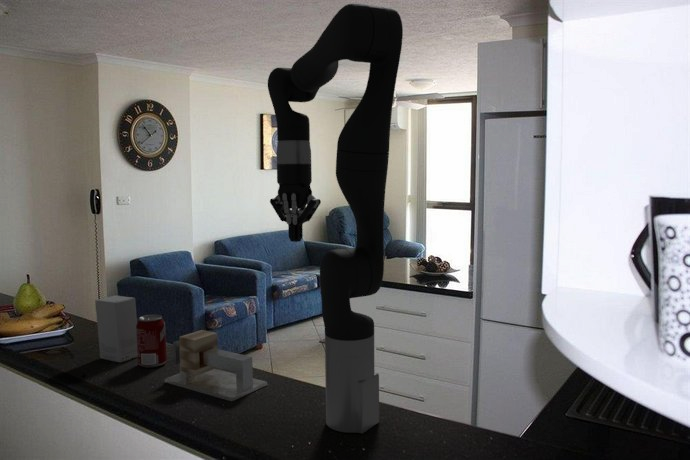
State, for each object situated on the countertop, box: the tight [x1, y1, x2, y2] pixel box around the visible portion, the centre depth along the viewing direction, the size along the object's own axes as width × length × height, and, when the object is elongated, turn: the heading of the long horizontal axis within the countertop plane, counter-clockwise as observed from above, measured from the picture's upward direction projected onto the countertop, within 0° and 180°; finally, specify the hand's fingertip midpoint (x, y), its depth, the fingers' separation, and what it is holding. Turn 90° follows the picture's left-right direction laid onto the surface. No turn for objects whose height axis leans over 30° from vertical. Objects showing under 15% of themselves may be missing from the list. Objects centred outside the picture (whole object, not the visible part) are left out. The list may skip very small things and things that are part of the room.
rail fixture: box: [164, 340, 268, 402], centre depth 134 cm, size 21×11×8 cm, turn 56°
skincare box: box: [94, 294, 138, 364], centre depth 152 cm, size 8×7×16 cm
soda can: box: [136, 314, 168, 369], centre depth 147 cm, size 7×7×12 cm
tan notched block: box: [178, 329, 219, 376], centre depth 136 cm, size 5×7×8 cm
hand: (295, 241), depth 131 cm, fingers closed
